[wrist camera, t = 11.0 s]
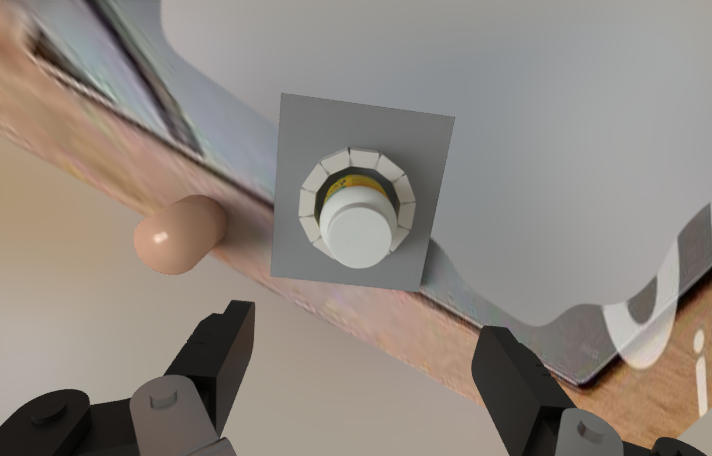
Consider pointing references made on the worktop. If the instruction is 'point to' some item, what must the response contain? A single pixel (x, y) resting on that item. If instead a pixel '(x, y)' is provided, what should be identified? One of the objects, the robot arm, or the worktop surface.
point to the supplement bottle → (357, 221)
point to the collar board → (355, 155)
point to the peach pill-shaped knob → (180, 234)
